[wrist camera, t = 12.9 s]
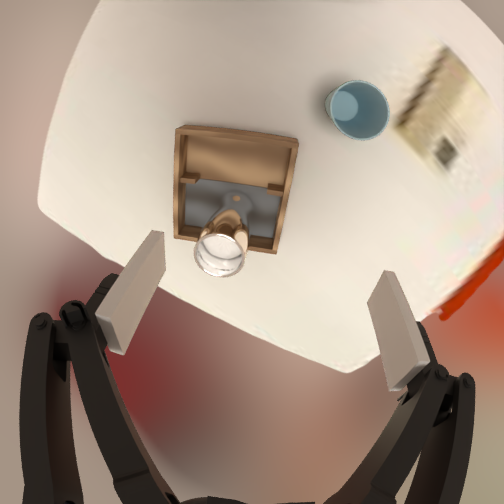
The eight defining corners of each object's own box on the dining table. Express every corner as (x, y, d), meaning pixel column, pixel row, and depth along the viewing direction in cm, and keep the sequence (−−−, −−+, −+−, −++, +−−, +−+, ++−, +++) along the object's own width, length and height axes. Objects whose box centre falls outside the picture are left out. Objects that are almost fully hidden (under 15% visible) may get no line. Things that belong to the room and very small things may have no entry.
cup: (309, 114, 37) (319, 120, 28) (330, 74, 33) (347, 68, 24) (350, 137, 38) (371, 151, 30) (372, 98, 34) (399, 102, 26)
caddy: (185, 125, 40) (175, 128, 36) (296, 138, 40) (298, 144, 36) (181, 226, 50) (173, 238, 46) (276, 240, 50) (276, 254, 46)
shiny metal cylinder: (209, 215, 48) (185, 265, 35) (225, 181, 44) (202, 223, 31) (245, 231, 49) (232, 286, 36) (263, 199, 45) (256, 247, 33)
